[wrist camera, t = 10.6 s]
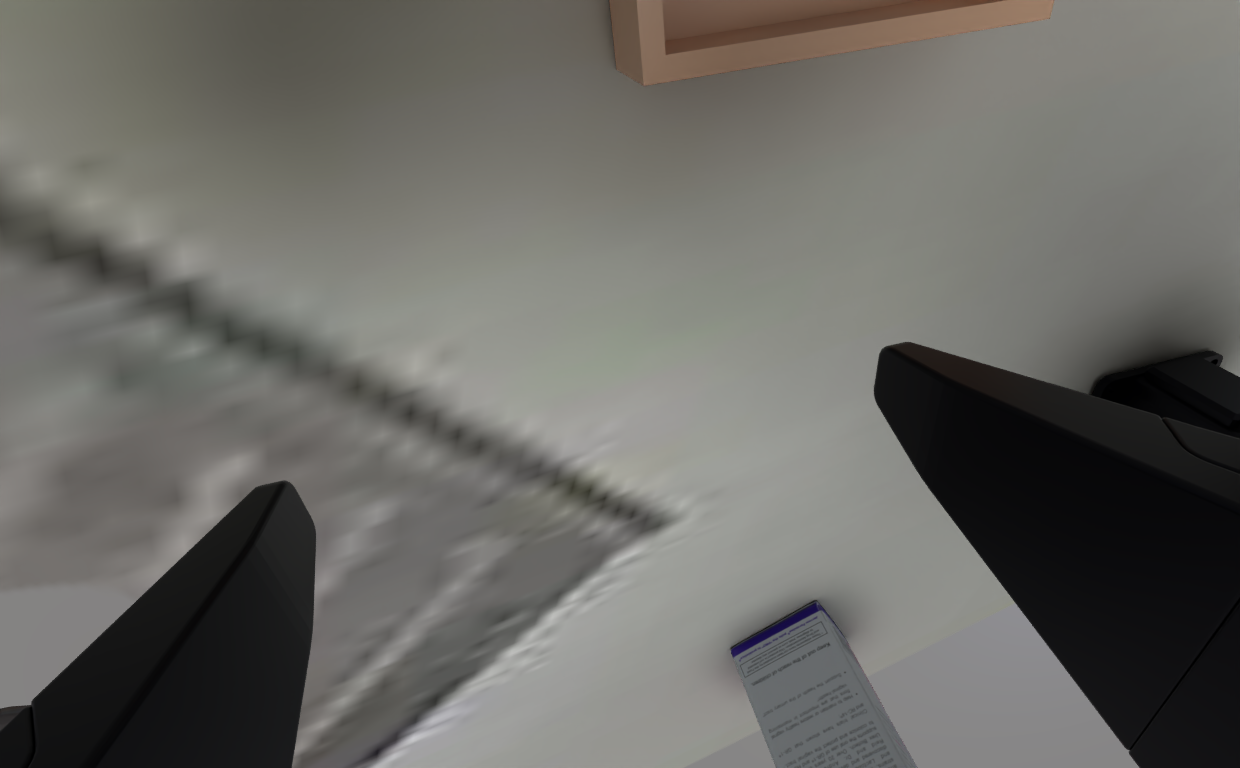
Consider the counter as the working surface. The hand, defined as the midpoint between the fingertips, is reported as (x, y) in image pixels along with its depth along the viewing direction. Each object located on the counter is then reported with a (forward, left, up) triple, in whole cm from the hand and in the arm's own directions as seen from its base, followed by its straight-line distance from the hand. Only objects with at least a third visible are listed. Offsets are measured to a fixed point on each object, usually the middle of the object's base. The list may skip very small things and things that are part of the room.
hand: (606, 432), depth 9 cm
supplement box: (-28, -10, -12) cm, 32 cm away
